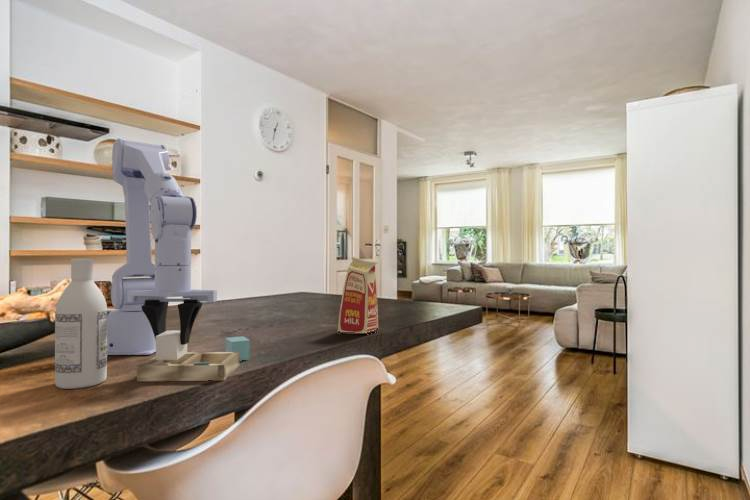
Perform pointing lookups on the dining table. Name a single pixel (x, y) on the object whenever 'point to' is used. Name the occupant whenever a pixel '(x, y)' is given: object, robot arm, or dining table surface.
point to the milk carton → (359, 298)
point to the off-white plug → (169, 346)
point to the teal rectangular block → (239, 347)
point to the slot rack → (190, 367)
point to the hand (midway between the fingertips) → (172, 343)
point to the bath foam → (81, 330)
